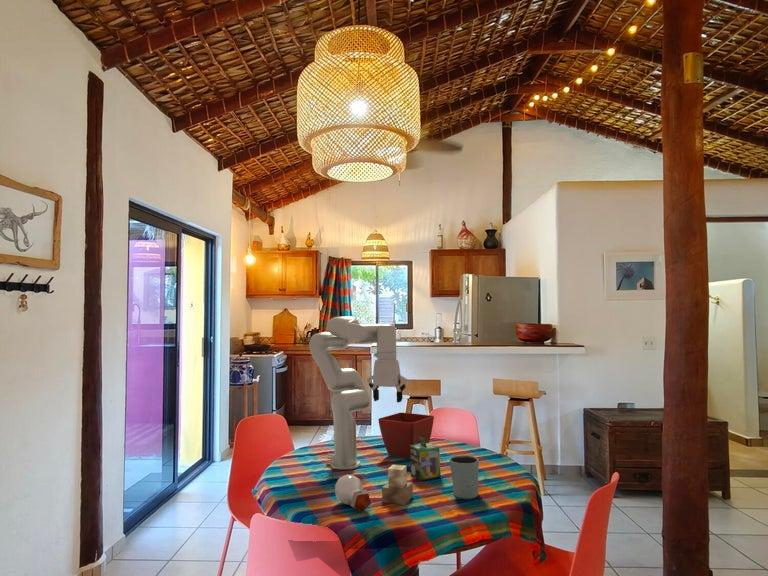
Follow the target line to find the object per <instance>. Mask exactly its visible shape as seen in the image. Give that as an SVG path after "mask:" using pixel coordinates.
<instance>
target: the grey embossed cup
mask: <svg viewBox="0 0 768 576" xmlns="http://www.w3.org/2000/svg"><path fill="white" fill-rule="evenodd" d="M479 464H480V463H479V458H478V457H476V456H473V455H455V456H452V457H450V458H449V466H450V473H451V480H452V491H453V496H455V497H457V498H460V499H464V500H465V499H467V500H469V499H474V498H477V497H478V495H479V467H480V466H479Z"/></svg>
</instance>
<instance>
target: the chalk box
mask: <svg viewBox="0 0 768 576" xmlns="http://www.w3.org/2000/svg"><path fill="white" fill-rule="evenodd" d="M419 439H420V442H421V444H415V445H410V459H409V460H410V475H412V476H413V477H415V478H416V479H418V480H419V481H423V480H429V479H434V478H435V479H436V478H441V477H442V476H441V474H442V473H441V472H442V471H441V459H440V458H441V457H440V446H438V445H435V444H433V443H430V442H429V443H426V442H425V439H424V438H421V437H419ZM422 440H423V442H424V443H422Z"/></svg>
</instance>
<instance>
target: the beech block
mask: <svg viewBox="0 0 768 576" xmlns="http://www.w3.org/2000/svg"><path fill="white" fill-rule="evenodd" d="M407 473H408V472H407V465H401V464H391V466H389V467H388V469H387V476H388V477H387V478H388V479H387V481H388V482H387V483H388V484H389V487H396V488H403V487H404V486H405V485H406V484H407V482H408V478H407V477H408V475H407Z"/></svg>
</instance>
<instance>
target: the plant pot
mask: <svg viewBox="0 0 768 576" xmlns="http://www.w3.org/2000/svg"><path fill="white" fill-rule="evenodd" d="M434 418H435V415H430V414H421V413H411V412H410V413H409V412H397V413H394V414H390V415H387V416H383V417H380V418H378V425H379V430H380V435H381V438H382V441H383V444H384V447H385V450H386V452H387V455H388V456H390V457H394V458H395V457H396V458H402V459H407V460H410V445H415V444H421V442H420V439H419V437H421V438H424V439H425V442H426V443H430V440H431V436H432V431H433V426H434ZM422 443H424V442H423V440H422Z"/></svg>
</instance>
